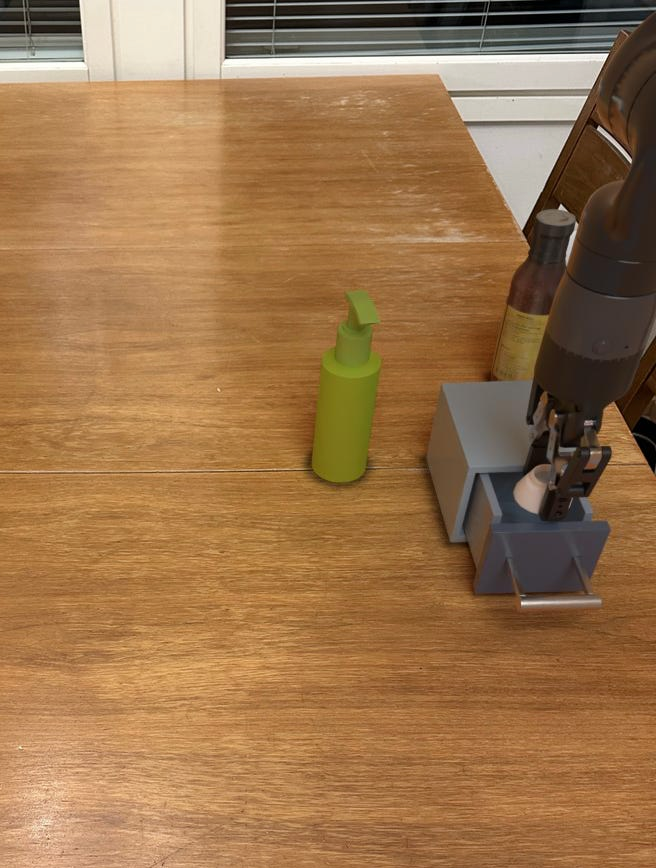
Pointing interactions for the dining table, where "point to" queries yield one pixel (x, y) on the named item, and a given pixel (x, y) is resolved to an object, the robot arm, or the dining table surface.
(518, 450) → the drawer unit
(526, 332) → the sauce bottle
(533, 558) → the compartment
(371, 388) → the soap dispenser
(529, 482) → the white jar
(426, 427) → the dining table surface
